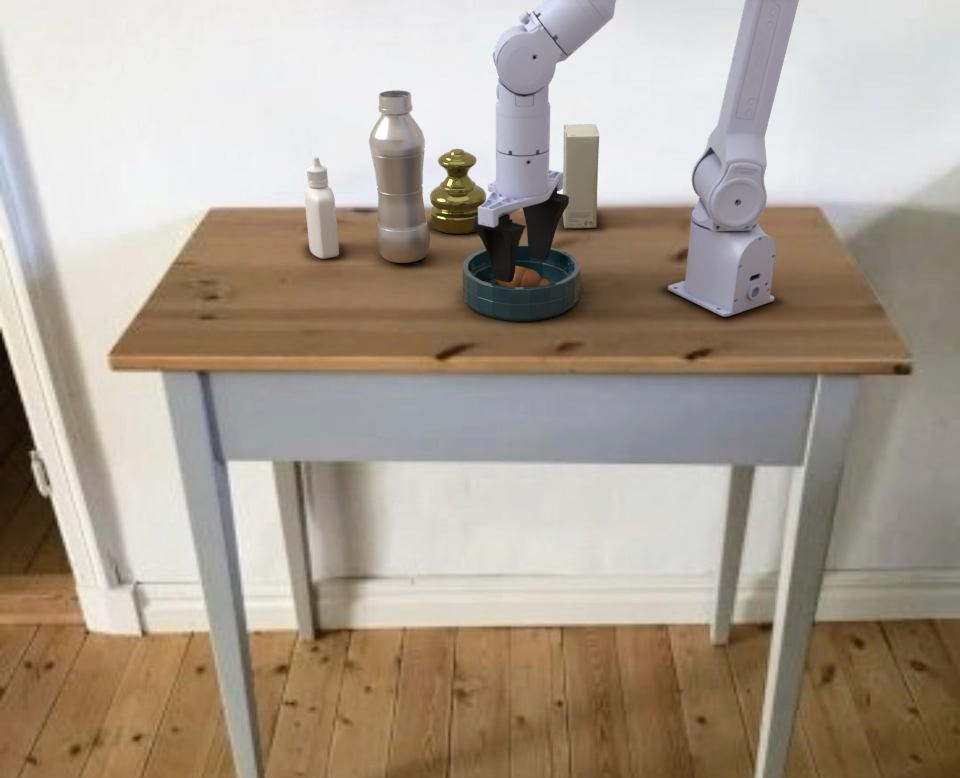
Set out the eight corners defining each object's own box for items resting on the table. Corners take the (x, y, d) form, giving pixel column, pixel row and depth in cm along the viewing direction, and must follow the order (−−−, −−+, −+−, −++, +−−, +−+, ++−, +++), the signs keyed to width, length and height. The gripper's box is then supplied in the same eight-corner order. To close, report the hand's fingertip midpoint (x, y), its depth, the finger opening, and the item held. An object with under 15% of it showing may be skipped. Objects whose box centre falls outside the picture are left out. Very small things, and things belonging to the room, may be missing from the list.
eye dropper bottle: (346, 243, 138) (338, 150, 131) (336, 260, 133) (328, 165, 126) (312, 242, 138) (303, 150, 131) (302, 259, 133) (292, 164, 127)
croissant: (545, 307, 119) (545, 280, 118) (481, 291, 123) (481, 265, 122) (561, 296, 122) (562, 269, 120) (498, 280, 126) (498, 254, 124)
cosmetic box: (596, 229, 141) (601, 136, 134) (562, 229, 141) (565, 136, 134) (593, 212, 146) (597, 122, 140) (560, 212, 146) (563, 123, 140)
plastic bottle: (424, 270, 130) (416, 102, 119) (370, 267, 131) (358, 100, 120) (436, 251, 135) (430, 88, 124) (385, 247, 136) (374, 86, 125)
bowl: (602, 304, 121) (604, 271, 119) (506, 333, 115) (507, 299, 113) (533, 267, 130) (533, 236, 128) (441, 292, 124) (440, 260, 122)
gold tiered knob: (491, 232, 140) (491, 157, 135) (435, 237, 139) (433, 161, 134) (480, 213, 146) (479, 140, 141) (426, 218, 145) (424, 144, 140)
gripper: (526, 126, 120) (525, 241, 128) (452, 160, 110) (456, 282, 118) (581, 135, 117) (576, 253, 124) (510, 171, 107) (510, 296, 114)
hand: (521, 268), depth 121 cm, fingers open, 7 cm apart
